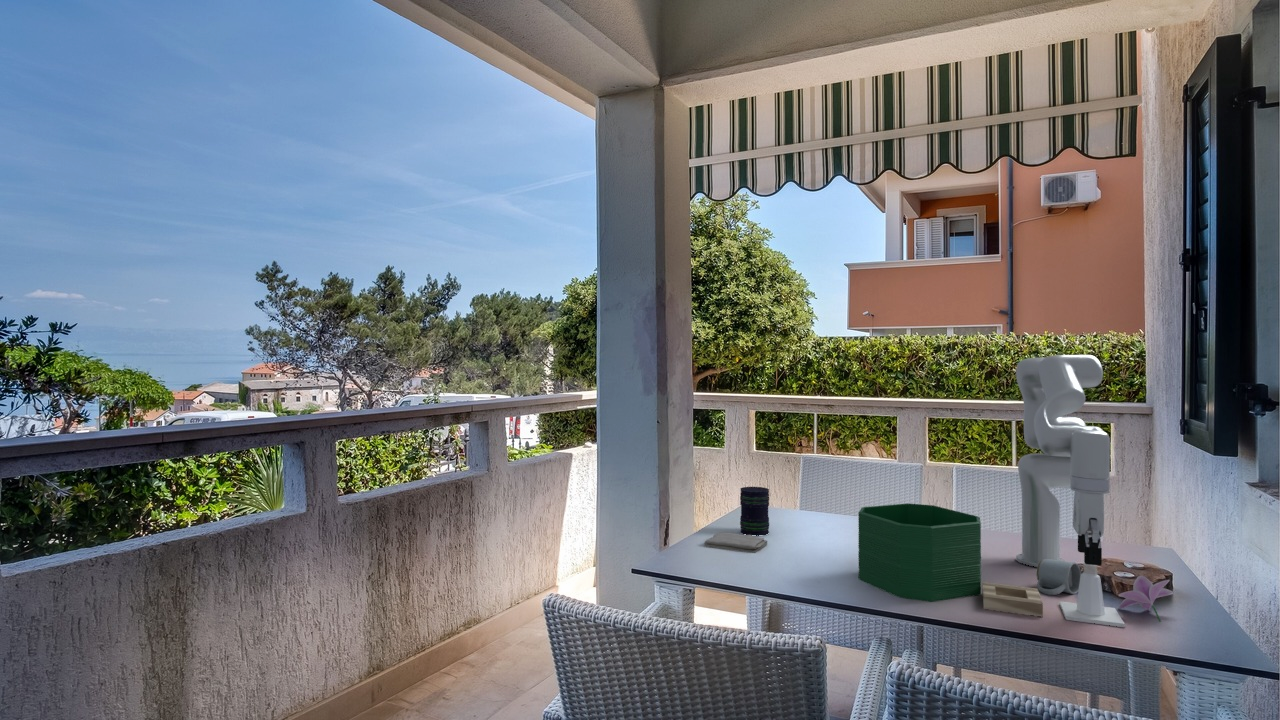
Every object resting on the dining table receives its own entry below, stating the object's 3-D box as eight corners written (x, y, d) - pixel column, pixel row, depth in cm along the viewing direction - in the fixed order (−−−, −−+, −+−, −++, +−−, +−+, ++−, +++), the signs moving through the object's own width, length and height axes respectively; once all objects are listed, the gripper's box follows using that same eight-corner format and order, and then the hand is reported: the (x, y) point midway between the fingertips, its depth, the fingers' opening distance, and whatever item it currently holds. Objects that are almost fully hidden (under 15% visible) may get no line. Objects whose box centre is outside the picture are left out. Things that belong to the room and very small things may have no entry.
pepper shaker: (1104, 610, 158) (1104, 562, 158) (1105, 618, 154) (1105, 568, 154) (1076, 606, 161) (1076, 559, 161) (1076, 613, 156) (1076, 564, 157)
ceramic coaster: (1059, 604, 165) (1059, 601, 165) (1114, 611, 160) (1114, 608, 160) (1065, 619, 155) (1065, 616, 155) (1124, 627, 150) (1124, 623, 150)
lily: (1185, 621, 157) (1165, 578, 162) (1192, 615, 148) (1171, 570, 153) (1125, 629, 162) (1107, 587, 166) (1129, 624, 152) (1110, 580, 157)
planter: (846, 574, 189) (845, 507, 189) (921, 565, 198) (920, 501, 198) (914, 605, 165) (914, 528, 165) (996, 592, 174) (996, 520, 174)
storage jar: (757, 537, 229) (757, 492, 229) (734, 532, 236) (734, 488, 236) (775, 533, 236) (775, 489, 236) (752, 528, 243) (752, 485, 243)
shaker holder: (982, 594, 172) (982, 582, 172) (1037, 601, 167) (1037, 588, 167) (983, 609, 161) (983, 596, 161) (1042, 617, 156) (1042, 603, 156)
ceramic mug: (1047, 582, 182) (1047, 553, 182) (1082, 590, 175) (1081, 560, 175) (1028, 591, 175) (1028, 560, 175) (1063, 599, 169) (1063, 568, 169)
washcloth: (757, 555, 210) (757, 544, 210) (702, 548, 218) (702, 538, 218) (768, 546, 220) (768, 536, 220) (716, 539, 228) (716, 530, 228)
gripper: (1065, 476, 167) (1065, 546, 168) (1076, 490, 152) (1075, 567, 152) (1102, 478, 164) (1101, 550, 164) (1116, 493, 148) (1116, 571, 149)
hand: (1089, 558), depth 158 cm, fingers open, 9 cm apart
